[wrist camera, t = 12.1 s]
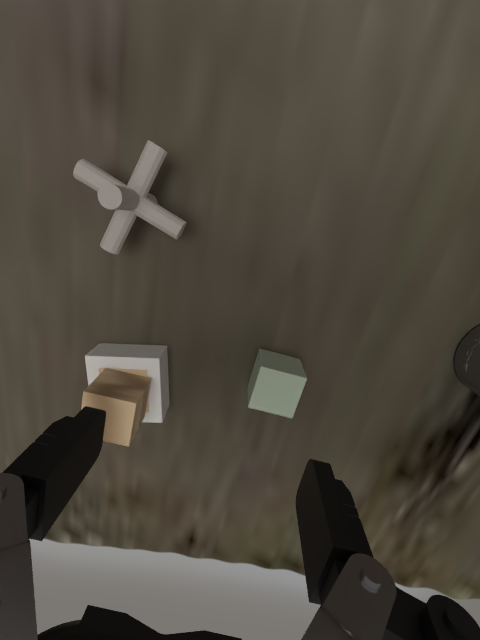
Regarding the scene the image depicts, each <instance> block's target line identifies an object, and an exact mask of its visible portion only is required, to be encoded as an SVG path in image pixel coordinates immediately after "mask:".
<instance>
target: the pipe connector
mask: <svg viewBox="0 0 480 640" xmlns="http://www.w3.org/2000/svg"><path fill="white" fill-rule="evenodd" d="M166 155H167V152H166V151H165V150H163V149H162V148H160V147H159V146H157V145H156V144H154V143H153V142H151V141H149V140H148V141H147V143H146V146H145V148H144V150H143V152H142V154H141V156H140V159H139V161H138V163H137V165H136V167H135V169H134V172H133V174H132V176H131V178H130V180H129V182H128V185H125V184H124V183H122V182H121V181H119V180H117V179H116V178H114V177H113V176H111V175H109V174H108V173H106V172H104V171H103V170H101V169H100V168H98V167H96V166H95V165H93V164H91V163H90V162H88V161H87V160H85V159H81V160H80V161H79V162H77V164H76V166H75V168H74V172H73V174H74V177H75V178H76V179H77V180H79V181H81V182H82V183H84V184H86V185H87V186H89V187H91V188H92V189H94V190H95V191H97V192H98V200H99V202H100V204H101V205H102V206H103V207H105V208H107V209H111V210H116V211H115V213H114V215H113V217H112V219H111V221H110V224H109V226H108V228H107V230H106V232H105V234H104V237H103V239H102V241H101V243H100V246H101V247H102V248H103V249H104V250H106V251H108V252H110V253H113V254H119V252H120V250H121V248H122V246H123V244H124V242H125V240H126V238H127V236H128V233H129V231H130V229H131V227H132V225H133V223H134V221H135V219H136V217H137V216H138V217H140V218H142V219H143V220H145V221H147V222H148V223H150V224H152V225H153V226H155V227H157V228H158V229H160V230H162V231H163V232H165V233H166V234H168V235H170V236H171V237H173V238H175V239H176V240H177V239H178V238H179V237H180V236H181V234H182V232H183V231H184V228H185V226H186V222H185V221H184V220H182V219H181V218H179V217H177V216H176V215H174V214H172V213H171V212H169V211H168V210H166V209H164V208H163V207H161V206H160V205H158V202H157V199H156V197H155V196H154V195H152V194H150V193H148V192H149V190H150V188H151V186H152V184H153V182H154V180H155V178H156V176H157V174H158V171H159V169H160V167H161V165H162V163H163V161H164V159H165V157H166Z"/></svg>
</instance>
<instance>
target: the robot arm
mask: <svg viewBox="0 0 480 640" xmlns="http://www.w3.org/2000/svg"><path fill="white" fill-rule="evenodd" d="M454 365H455V371H456V374H457V376H458V378H459V379H460V381H461V382H462V383H464V384H465V385H466V386H467V387H468V388H470V389H471V390H472V391H474V392H475V393H476V394H478V395H479V396H480V325H479V326H477V327H476V328H474V329H473V330H472V331H470V332H469V333H468V334H467V335H466V336H465V338H464V339H463V340H462V342H461V343H460V345H459V346H458V349H457V351H456V354H455V360H454ZM105 420H106V411H105V410H101V409H97V408H92V407H88V406H85V407H84V408H83V409H82V410H81V411H80V412H79V413H78V414H77V415H76V416H75V417H74V418H73V417H68V416H66V417H64V418H62V419H60V420H58V421H56V422H54V423H52V424H51V425H50V426H49V427H48V428H47V429H46V430H45V431H44V432H43V434H42V435H40V436H39V437H38V438H37V439H36V440H35V442H34V443H32V444H31V445H30V446H29V447H28V448H27V449H26V450H25V451H24V452H23V453H22V454H21V455H20V456H19V457H18V458H17V459H16V460H15V461H14V462H13V463H12V464H11V465H10V466H9V467H8V468H7V469H6V470H5V471H4V472H3V473H0V640H242V639H241V638H236V637H232V636H227V635H222V634H218V633H213V632H209V631H195V632H186V633H176V634H168V635H164V634H160V633H158V632H156V631H155V630H153V629H151V628H150V627H148V626H146V625H145V624H143V623H141V622H140V621H138V620H136V619H134V618H133V617H131V616H129V615H128V614H126V613H122V612H117V611H113V610H109V609H104V608H99V607H94V606H90V605H88V606H87V608H86V610H85V613H84V615H83V617H82V619H81V620H76V621H71V622H67V623H63V624H60V625H58V626H55V627H52V628H50V629H48V630H46V631H44V632H42V633H40V634H39V635H37V624H36V611H35V598H34V585H33V572H32V559H31V548H30V547H31V546H30V541H29V539H35V540H39V541H42V540H43V538H44V537H45V536H46V534H47V533H48V531H49V530H50V528H51V527H52V525H53V524H54V522H55V521H56V519H57V518H58V516H59V515H60V513H61V512H62V510H63V509H64V507H65V506H66V504H67V503H68V501H69V500H70V498H71V497H72V495H73V494H74V492H75V491H76V490H77V488H78V487H79V485H80V484H81V482H82V481H83V479H84V478H85V476H86V475H87V473H88V472H89V470H90V469H91V467H92V466H93V464H94V463H95V461H96V460H97V458H98V456H99V453H100V451H101V447H102V443H103V435H104V428H105ZM296 512H297V519H298V526H299V533H300V540H301V547H302V554H303V562H304V569H305V576H306V583H307V589H308V597H309V602H311V603H315V604H320V605H321V606H320V608H319V609H318V611H317V613H316V614H315V616H314V618H313V620H312V622H311V623H310V625H309V627H308V629H307V630H306V632H305V634H304V636H303V638H302V639H301V640H480V628H479V626H478V624H477V623H476V621H475V620H474V619H473V618H472V617H471V615H470V614H469V613H468V612H467V611H466V610H465V609H464V608H463V607H461V606H460V605H459V604H458V603H456V602H455V601H453V600H452V599H450V598H448V597H445V596H442V595H434V596H431V597H430V598H429V600H428V602H427V603H424V602H422V601H420V600H419V599H417V598H415V597H413V596H411V595H409V594H408V593H406V592H404V591H402V590H400V589H399V588H397V587H396V586H395V583H394V580H393V578H392V577H391V575H390V573H389V572H388V571H387V569H386V568H385V567H384V566H383V565H382V564H381V563H380V562H378V561H377V560H376V559H374V558H373V555H372V552H371V549H370V546H369V543H368V540H367V538H366V535H365V532H364V529H363V526H362V523H361V521H360V519H359V515H358V512H357V509H356V508H355V503H354V501H353V498H352V495H351V492H350V491H349V490H348V488H347V487H346V486H345V484H344V483H343V482H342V481H341V480H337V479H335V477H334V474H333V471H332V468H331V465H330V464H329V463H325V462H321V461H317V460H313V459H310V460H309V461H308V463H307V465H306V468H305V471H304V474H303V476H302V479H301V482H300V485H299V487H298V491H297V495H296Z"/></svg>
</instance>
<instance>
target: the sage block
mask: <svg viewBox="0 0 480 640" xmlns="http://www.w3.org/2000/svg"><path fill="white" fill-rule="evenodd" d="M306 380H307V377H306V374H305V371H304V369H303V366H302V363H301V361H300V359H298V358H294V357H290V356H287V355H283V354H279V353H275V352H271V351H267V350H264V349H260V348H259V351H258V354H257V357H256V361H255V364H254V367H253V370H252V373H251V377H250V380H249V383H248V407H249V408H253V409H257V410H261V411H265V412H269V413H273V414H277V415H281V416H285V417H289V418H293V415H294V413H295V410H296V407H297V405H298V402H299V399H300V396H301V394H302V391H303V388H304V386H305V383H306Z"/></svg>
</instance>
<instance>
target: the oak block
mask: <svg viewBox="0 0 480 640" xmlns="http://www.w3.org/2000/svg"><path fill="white" fill-rule="evenodd" d="M151 379H152V378H148V377H143V376H139V375H135V374H130V373H126V372H122V371H118V370H113V369H109V368H105V369H104V370H103V371H102V372H101V374H100V375H99V376H98V377H97V378H96V379H95V380H94V381H93V382H92V383H91V384H90V385H89V386H88V387H87V388H86V389H85V390H84V391H83V399H82V408H81V410H82V409H83V408H84V407H85V406H88V407H92V408H97V409H101V410H105V411H106V420H105V428H104V435H103V441H106V442H111V443H115V444H120V445H124V446H130V444H131V442H132V440H133V438H134V436H135V434H136V432H137V430H138V428H139V427H140V425H141V423H142V421H143V419H144V417H145V412H146V406H147V401H148V395H149V390H150V384H151Z"/></svg>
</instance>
